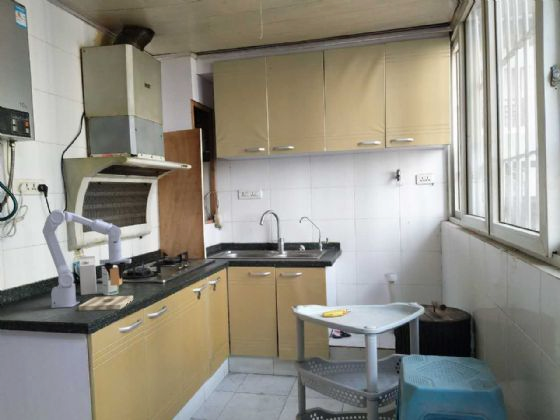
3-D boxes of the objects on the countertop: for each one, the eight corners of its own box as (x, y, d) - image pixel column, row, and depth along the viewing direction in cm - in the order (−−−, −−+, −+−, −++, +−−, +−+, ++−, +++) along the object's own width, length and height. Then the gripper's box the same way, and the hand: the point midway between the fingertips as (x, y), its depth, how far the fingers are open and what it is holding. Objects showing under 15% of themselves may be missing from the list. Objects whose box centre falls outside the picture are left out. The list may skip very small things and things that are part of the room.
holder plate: (78, 310, 179) (78, 306, 179) (95, 301, 195) (94, 297, 195) (120, 309, 179) (120, 304, 179) (133, 299, 195) (132, 295, 195)
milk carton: (81, 292, 215) (79, 256, 214) (96, 290, 217) (94, 255, 217) (81, 295, 208) (79, 258, 207) (96, 293, 211) (94, 256, 210)
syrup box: (108, 295, 205) (107, 267, 204) (102, 294, 209) (101, 266, 208) (119, 293, 209) (117, 265, 209) (113, 292, 213) (112, 264, 212)
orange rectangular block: (110, 285, 197) (109, 268, 196) (114, 283, 201) (113, 267, 200) (119, 285, 197) (118, 268, 196) (122, 283, 201) (121, 267, 200)
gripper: (132, 248, 202) (134, 276, 203) (103, 249, 202) (104, 277, 202) (127, 250, 195) (129, 279, 196) (97, 251, 195) (98, 280, 195)
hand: (116, 278), depth 199 cm, fingers closed on orange rectangular block, 4 cm apart
